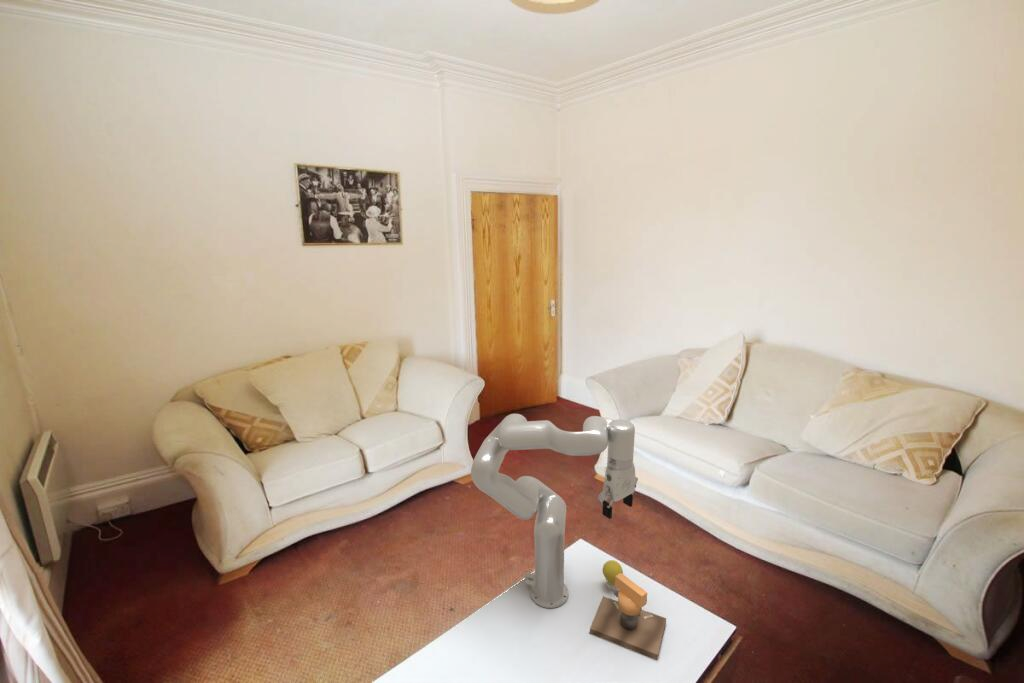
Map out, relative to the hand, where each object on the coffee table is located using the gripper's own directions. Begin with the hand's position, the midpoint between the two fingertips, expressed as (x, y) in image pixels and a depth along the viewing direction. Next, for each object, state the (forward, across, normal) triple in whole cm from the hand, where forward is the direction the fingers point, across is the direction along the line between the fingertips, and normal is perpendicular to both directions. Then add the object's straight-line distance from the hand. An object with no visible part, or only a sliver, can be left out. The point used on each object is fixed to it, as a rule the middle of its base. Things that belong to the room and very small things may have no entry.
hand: (617, 510), depth 145 cm
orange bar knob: (+26, -4, -9) cm, 28 cm away
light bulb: (+34, +5, +4) cm, 35 cm away
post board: (+34, -4, -10) cm, 36 cm away
